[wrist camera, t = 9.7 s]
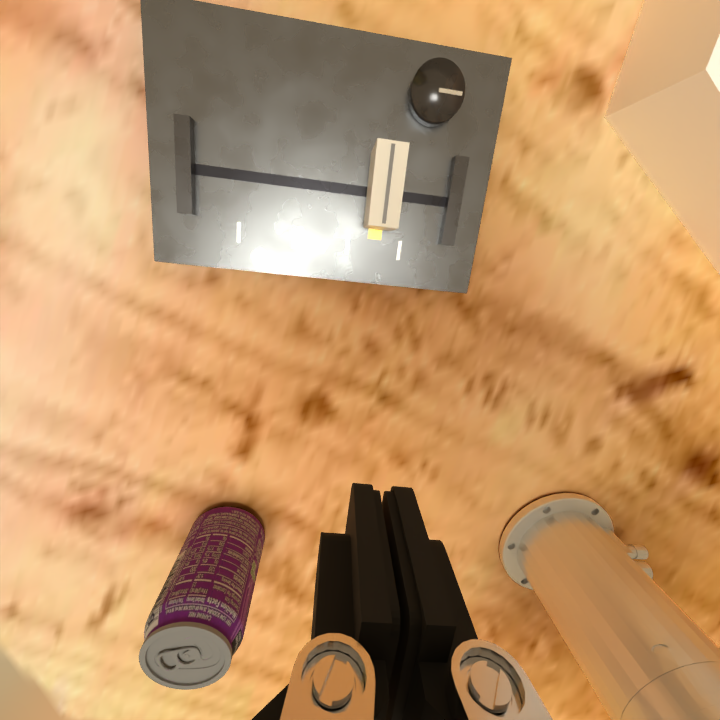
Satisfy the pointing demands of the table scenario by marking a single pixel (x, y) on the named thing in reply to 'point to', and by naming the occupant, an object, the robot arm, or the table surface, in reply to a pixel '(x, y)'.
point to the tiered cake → (675, 110)
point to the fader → (385, 184)
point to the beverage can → (204, 601)
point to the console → (313, 145)
